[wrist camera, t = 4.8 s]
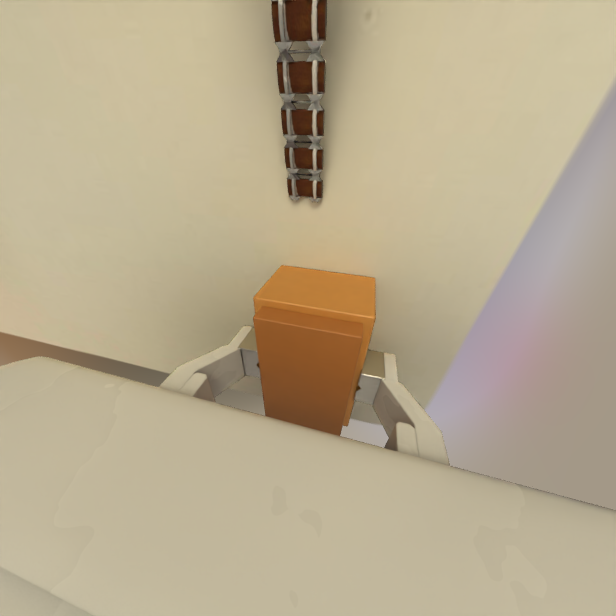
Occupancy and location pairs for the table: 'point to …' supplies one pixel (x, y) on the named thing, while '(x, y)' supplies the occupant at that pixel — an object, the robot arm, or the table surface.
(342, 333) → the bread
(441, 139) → the table surface
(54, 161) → the table surface
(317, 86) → the wristwatch
